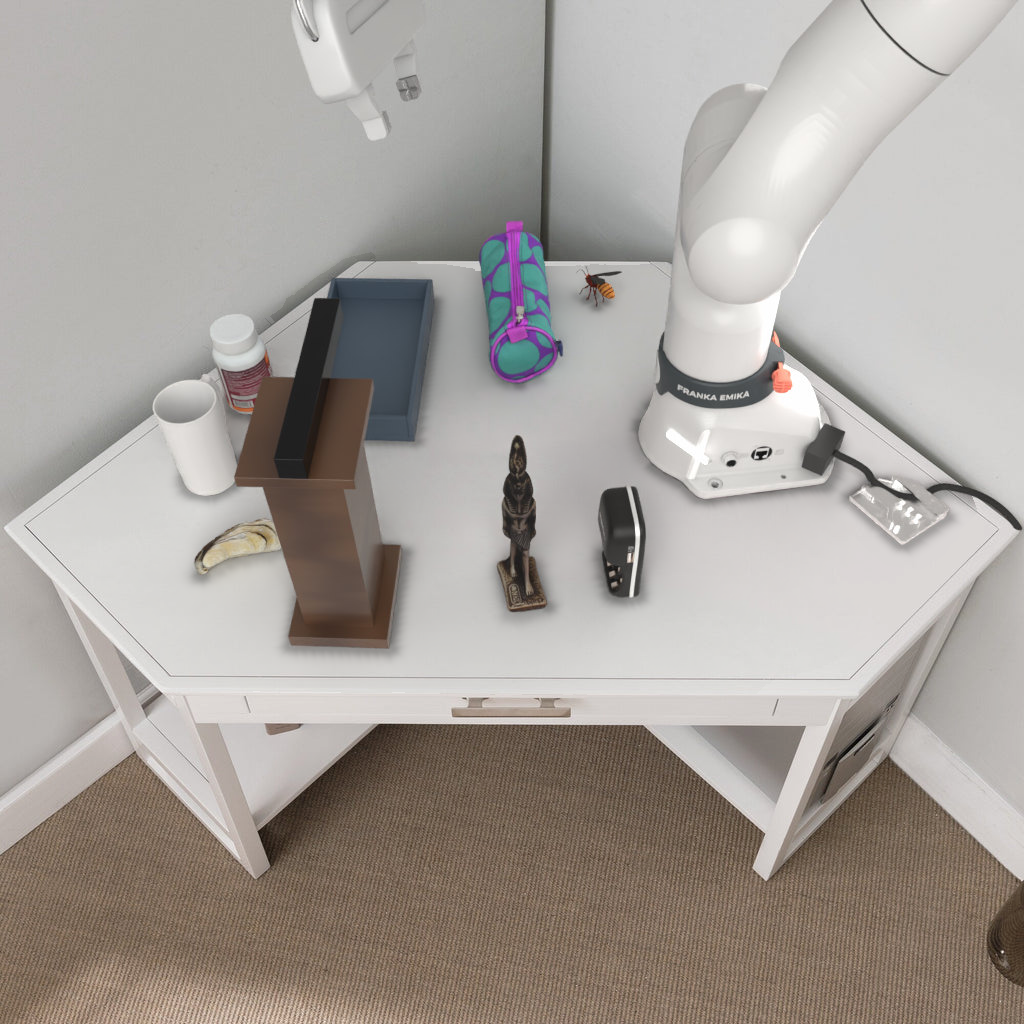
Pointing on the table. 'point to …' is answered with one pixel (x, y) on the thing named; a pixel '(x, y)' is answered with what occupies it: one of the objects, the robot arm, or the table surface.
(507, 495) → the statue
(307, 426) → the rod
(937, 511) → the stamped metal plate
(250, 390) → the pill bottle
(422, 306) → the tray
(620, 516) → the battery charger
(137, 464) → the table surface
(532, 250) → the pencil case
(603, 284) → the insect
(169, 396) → the mug
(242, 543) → the oyster shell
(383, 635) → the stand
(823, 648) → the table surface
